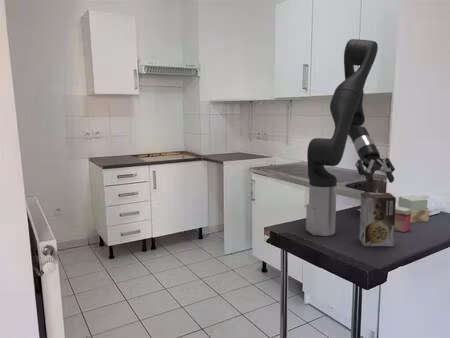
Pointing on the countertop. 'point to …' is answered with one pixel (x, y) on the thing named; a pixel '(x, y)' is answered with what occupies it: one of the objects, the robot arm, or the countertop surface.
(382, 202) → the cookie box
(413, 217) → the oak base block
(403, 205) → the sage top block
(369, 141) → the robot arm
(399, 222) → the small box
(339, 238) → the countertop surface
